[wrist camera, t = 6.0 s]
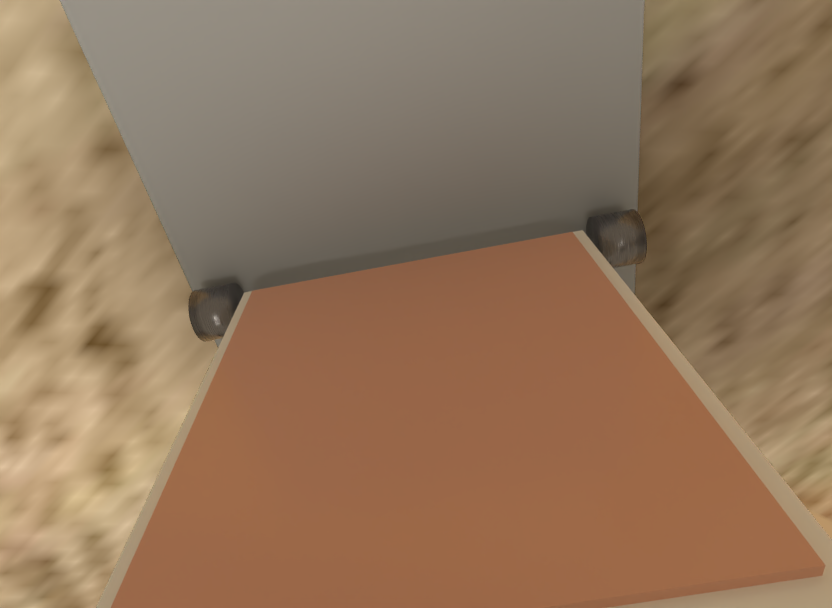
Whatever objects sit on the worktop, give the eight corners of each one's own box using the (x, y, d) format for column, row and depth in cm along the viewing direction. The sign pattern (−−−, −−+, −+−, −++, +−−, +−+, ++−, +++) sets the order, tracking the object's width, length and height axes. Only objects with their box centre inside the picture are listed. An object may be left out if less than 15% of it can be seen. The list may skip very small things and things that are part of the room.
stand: (603, -283, 13) (698, -395, 9) (604, 383, 24) (648, 465, 20) (51, -156, 14) (-85, -207, 10) (293, 436, 25) (275, 525, 21)
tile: (583, 266, 16) (582, 223, 16) (858, 658, 7) (887, 591, 6) (257, 326, 17) (241, 286, 16) (87, 767, 7) (31, 718, 7)
